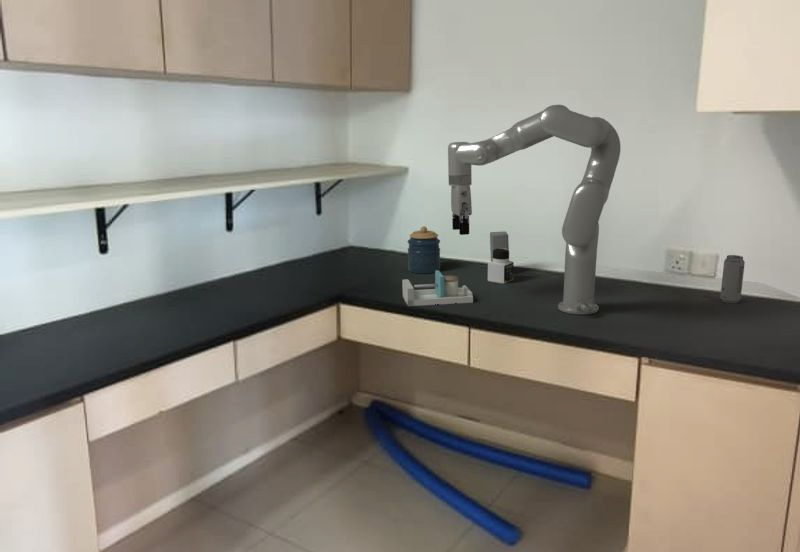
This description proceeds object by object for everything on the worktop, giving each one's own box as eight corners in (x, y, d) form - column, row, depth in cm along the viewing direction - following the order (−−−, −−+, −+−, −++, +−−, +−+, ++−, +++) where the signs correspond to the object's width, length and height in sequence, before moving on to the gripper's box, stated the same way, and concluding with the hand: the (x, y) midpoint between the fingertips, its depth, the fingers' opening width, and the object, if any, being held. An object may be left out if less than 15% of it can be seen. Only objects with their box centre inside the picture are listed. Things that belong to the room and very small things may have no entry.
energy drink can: (722, 297, 230) (726, 253, 227) (741, 300, 227) (746, 256, 223) (718, 301, 226) (722, 257, 222) (738, 304, 222) (743, 259, 218)
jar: (459, 299, 232) (460, 279, 230) (443, 300, 231) (443, 280, 229) (456, 294, 237) (456, 274, 236) (439, 295, 237) (439, 275, 235)
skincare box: (509, 275, 265) (510, 234, 261) (491, 275, 265) (491, 234, 261) (506, 269, 273) (507, 230, 269) (488, 270, 273) (489, 230, 269)
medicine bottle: (504, 284, 252) (504, 252, 249) (487, 281, 256) (487, 249, 253) (513, 279, 257) (514, 248, 254) (496, 277, 262) (497, 246, 259)
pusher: (444, 300, 229) (444, 276, 227) (416, 301, 228) (416, 278, 226) (438, 292, 238) (438, 270, 236) (412, 294, 237) (412, 271, 235)
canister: (406, 267, 280) (405, 224, 276) (437, 265, 281) (437, 223, 277) (410, 274, 268) (409, 230, 263) (442, 273, 269) (442, 228, 265)
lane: (473, 302, 230) (473, 285, 228) (407, 306, 227) (407, 288, 225) (464, 292, 241) (464, 276, 240) (402, 296, 238) (402, 279, 237)
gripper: (478, 182, 217) (478, 235, 222) (464, 177, 234) (465, 227, 238) (455, 183, 216) (455, 237, 220) (443, 178, 233) (444, 228, 237)
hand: (460, 231), depth 229 cm, fingers open, 9 cm apart
